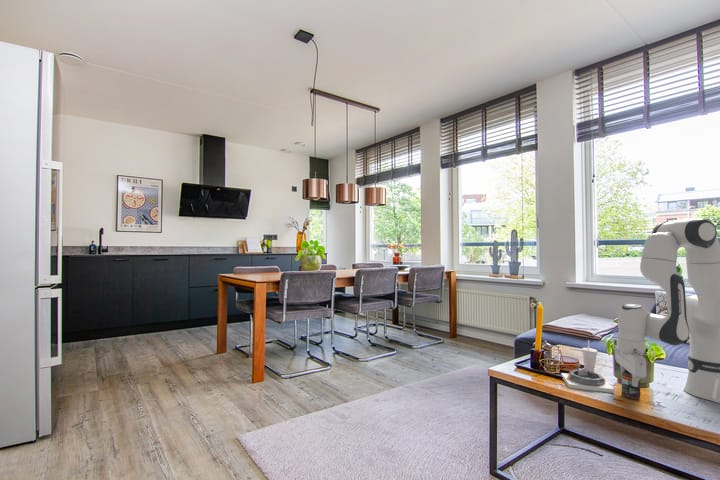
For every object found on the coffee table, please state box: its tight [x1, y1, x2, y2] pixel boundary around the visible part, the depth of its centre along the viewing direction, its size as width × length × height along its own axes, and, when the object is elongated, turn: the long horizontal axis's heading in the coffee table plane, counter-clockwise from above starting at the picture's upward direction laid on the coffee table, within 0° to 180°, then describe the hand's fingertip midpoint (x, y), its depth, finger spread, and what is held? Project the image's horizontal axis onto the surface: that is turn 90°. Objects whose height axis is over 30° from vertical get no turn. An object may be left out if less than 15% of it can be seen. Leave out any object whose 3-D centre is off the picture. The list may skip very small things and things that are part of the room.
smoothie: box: [581, 339, 599, 372], centre depth 175 cm, size 6×6×14 cm
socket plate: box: [560, 372, 615, 394], centre depth 157 cm, size 16×14×2 cm
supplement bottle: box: [621, 369, 641, 400], centre depth 145 cm, size 6×6×11 cm
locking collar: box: [567, 369, 606, 386], centre depth 157 cm, size 14×12×2 cm
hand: (629, 381), depth 145 cm, fingers open, 8 cm apart
